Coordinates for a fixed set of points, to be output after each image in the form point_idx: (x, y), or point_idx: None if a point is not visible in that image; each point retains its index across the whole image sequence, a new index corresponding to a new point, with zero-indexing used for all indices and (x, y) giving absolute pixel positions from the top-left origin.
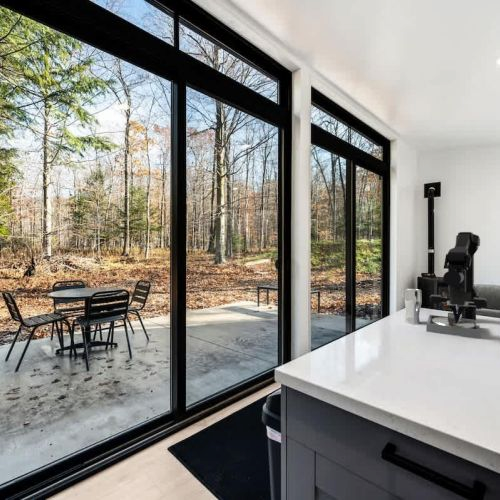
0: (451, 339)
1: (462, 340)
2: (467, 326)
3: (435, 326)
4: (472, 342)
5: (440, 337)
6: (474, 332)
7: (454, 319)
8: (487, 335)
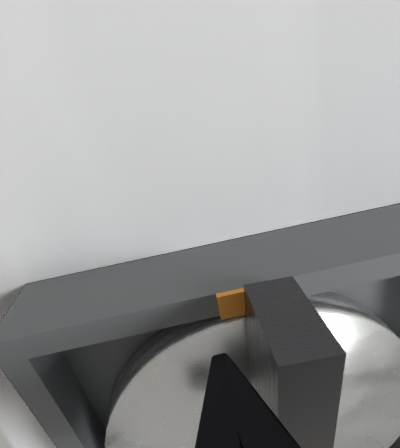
0: (209, 74)
1: (117, 120)
2: (136, 390)
3: (397, 239)
4: (21, 114)
5: (310, 72)
6: (51, 308)
7: None
8: None
